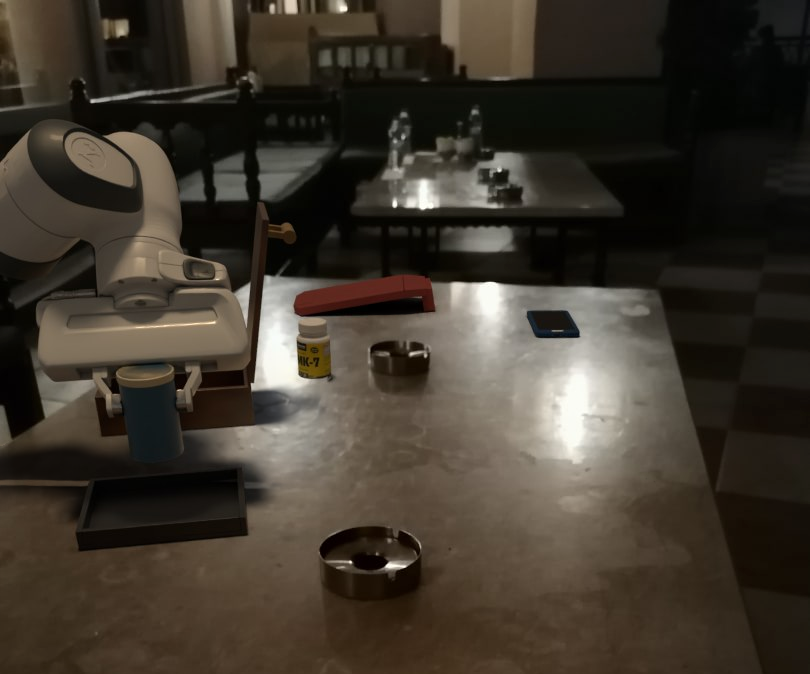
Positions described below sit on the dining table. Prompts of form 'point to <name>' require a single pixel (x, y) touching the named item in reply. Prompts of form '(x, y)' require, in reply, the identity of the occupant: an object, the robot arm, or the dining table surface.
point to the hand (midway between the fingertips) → (151, 412)
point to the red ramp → (365, 294)
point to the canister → (150, 412)
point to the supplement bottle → (313, 349)
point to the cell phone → (552, 323)
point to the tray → (162, 508)
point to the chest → (198, 403)
